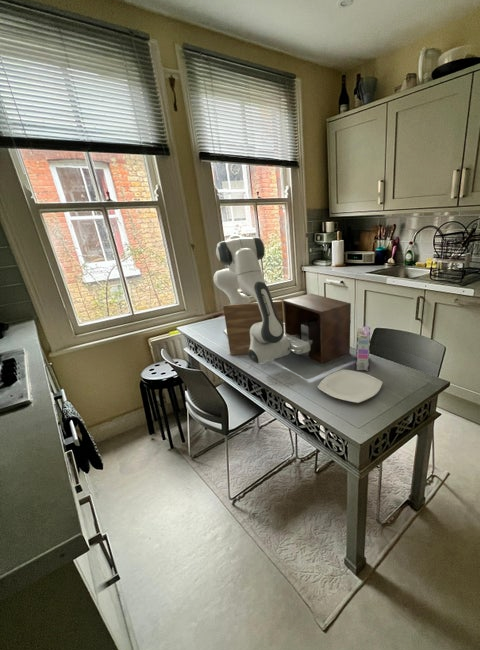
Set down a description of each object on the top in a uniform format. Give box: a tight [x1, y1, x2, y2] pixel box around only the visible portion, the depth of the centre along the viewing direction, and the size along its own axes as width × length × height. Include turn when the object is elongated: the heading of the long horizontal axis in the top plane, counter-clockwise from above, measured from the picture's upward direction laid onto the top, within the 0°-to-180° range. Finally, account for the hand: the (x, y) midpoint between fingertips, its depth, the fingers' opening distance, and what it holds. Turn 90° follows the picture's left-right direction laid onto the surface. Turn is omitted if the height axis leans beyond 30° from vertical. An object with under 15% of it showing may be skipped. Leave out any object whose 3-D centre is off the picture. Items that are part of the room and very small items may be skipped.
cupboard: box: [282, 293, 352, 365], centre depth 155 cm, size 18×28×26 cm, turn 38°
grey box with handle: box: [301, 318, 321, 356], centre depth 155 cm, size 6×9×17 cm, turn 128°
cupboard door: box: [222, 300, 285, 356], centre depth 161 cm, size 7×28×26 cm, turn 98°
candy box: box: [355, 325, 371, 372], centre depth 143 cm, size 14×6×16 cm, turn 168°
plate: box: [317, 368, 384, 404], centre depth 127 cm, size 23×23×2 cm
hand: (305, 338), depth 153 cm, fingers open, 8 cm apart
